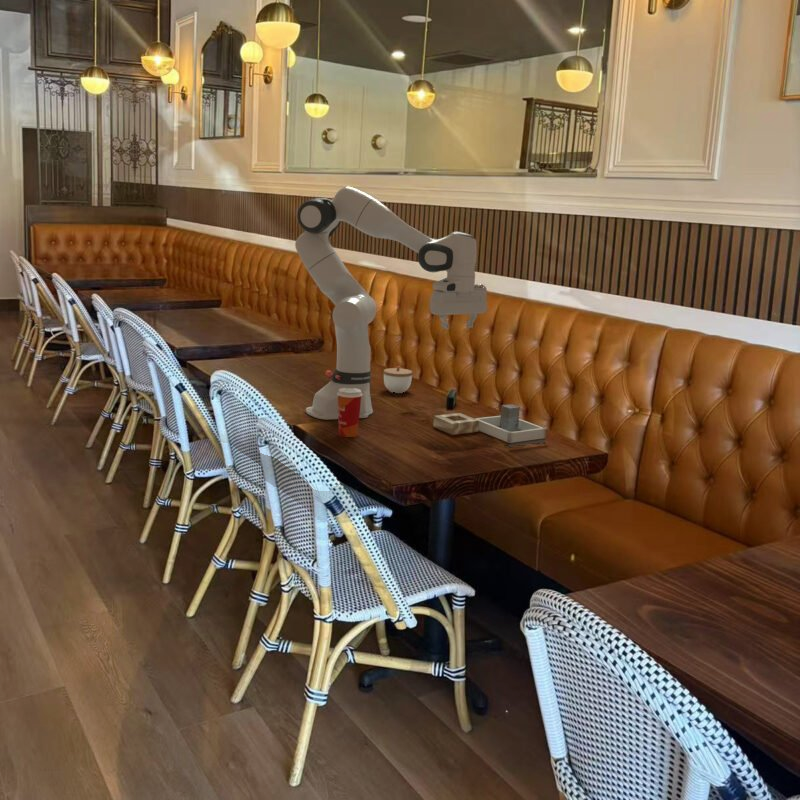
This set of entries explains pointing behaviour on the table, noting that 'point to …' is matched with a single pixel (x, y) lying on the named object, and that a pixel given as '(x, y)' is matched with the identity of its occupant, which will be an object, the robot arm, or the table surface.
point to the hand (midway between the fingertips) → (457, 328)
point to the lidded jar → (397, 379)
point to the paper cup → (349, 411)
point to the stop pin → (509, 417)
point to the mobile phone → (451, 399)
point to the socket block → (456, 423)
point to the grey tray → (527, 433)
